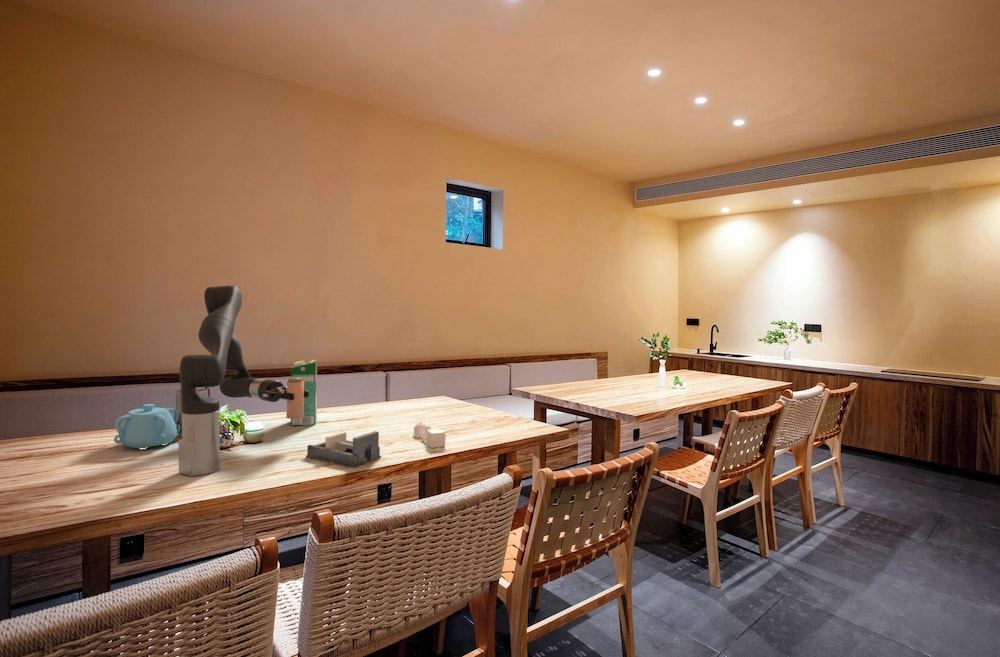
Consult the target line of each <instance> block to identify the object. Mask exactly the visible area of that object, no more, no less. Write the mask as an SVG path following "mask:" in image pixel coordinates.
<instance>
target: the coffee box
mask: <svg viewBox="0 0 1000 657" xmlns="http://www.w3.org/2000/svg"><path fill="white" fill-rule="evenodd" d="M196 390H197V391H198V392H199V393H201V394H203V395H205V396H208V397H211V388H207V387H196ZM174 398H175V409H176V410H177V411H178V412H179V418H178V421H177V423H176V424H178V425H180V430H179V431H178V432H177V434H181V435H180V436H182V403H181V389H179V390H175V396H174ZM176 429H177V426H176Z"/></svg>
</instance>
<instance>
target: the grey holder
mask: <svg viewBox="0 0 1000 657" xmlns="http://www.w3.org/2000/svg"><path fill="white" fill-rule="evenodd" d="M379 433H380V432H379V431H376V430H375V431H370V432H367V433H364V434H362V435H359V436H356V437H352V441H351V440H348V439H346V443H350V444H353V449H349V448H346V451H343V452H342V451H338V450H333V449H328V448H325V445H326V441H323V442H319V443H316V444H308V445H307V449H306V450H307V454H306V455H305V458H308V457H309V458H310V459H314V460H318V461H322V462H326V463H331V464H334V465H338V466H339V465H340V466H342V465H344V466H343V467H347V466H348V467H347V468H351V467H352V469H355V468H357V467H360V466H362V465H365V464H366V465H367V464H368V463H370V462H373V461H375V460H377V459H380V458H382V456H381V455H380V454H381V452H380V451H381V448H380V447H381V446H380V445H379V443H380V442H379V438H380V437H379V435H380V434H379ZM365 447H366V450H365Z"/></svg>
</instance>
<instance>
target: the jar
mask: <svg viewBox="0 0 1000 657" xmlns="http://www.w3.org/2000/svg"><path fill="white" fill-rule="evenodd" d="M287 379H288V380H287V381H286V386H287V392H288V393H293V394H294V400H287V399H285V400H286V404H285V408H286V410H285V411H286V414H285V415H286V416H285V417H286V419H290V420H291V419H298V418H302V417H304V381H303V380H302V378H300V377H294V378H291V377H289V378H287Z"/></svg>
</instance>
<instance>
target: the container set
mask: <svg viewBox="0 0 1000 657" xmlns="http://www.w3.org/2000/svg"><path fill="white" fill-rule="evenodd" d="M431 428H432V427H431V425H426V423H424V422H423V421H419V422H418V423H416V424H415V425H414V427H413V435H414V436H418V437H417V438H420V441H421V440H422V441H426V442H425V443H426V445H427V446H428V447H429V448H432V449H435V447H436V448H442V447H441V446H444V447H445V446H446V439H447V438H446V436H447V435H446V431H445V430H443V429H441V428H435V429H431ZM414 436H413V437H414ZM422 441H421V442H422Z"/></svg>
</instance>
